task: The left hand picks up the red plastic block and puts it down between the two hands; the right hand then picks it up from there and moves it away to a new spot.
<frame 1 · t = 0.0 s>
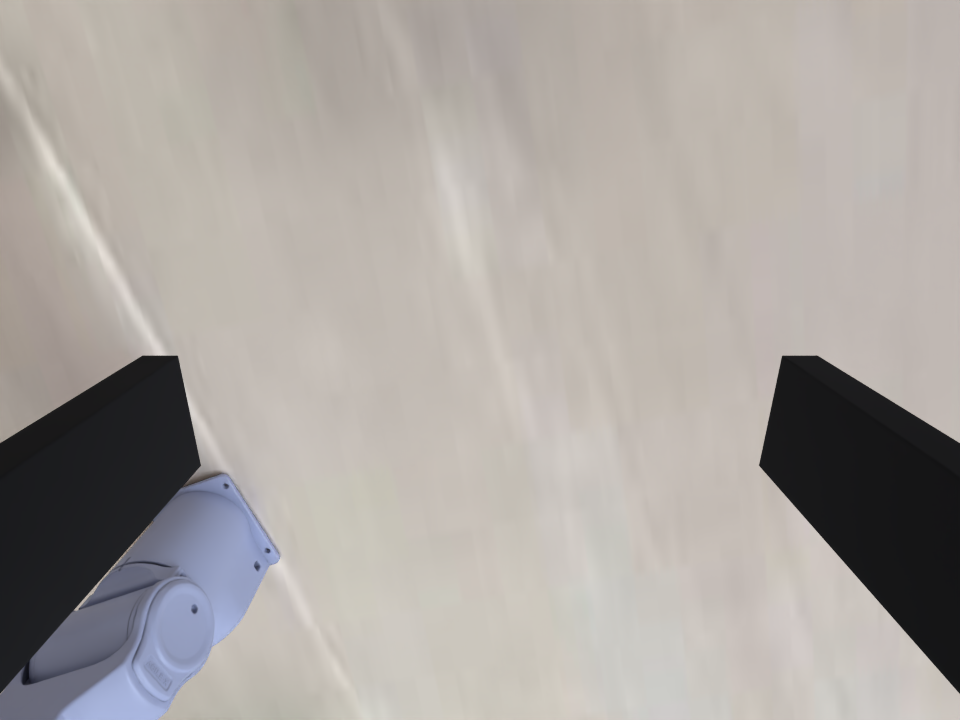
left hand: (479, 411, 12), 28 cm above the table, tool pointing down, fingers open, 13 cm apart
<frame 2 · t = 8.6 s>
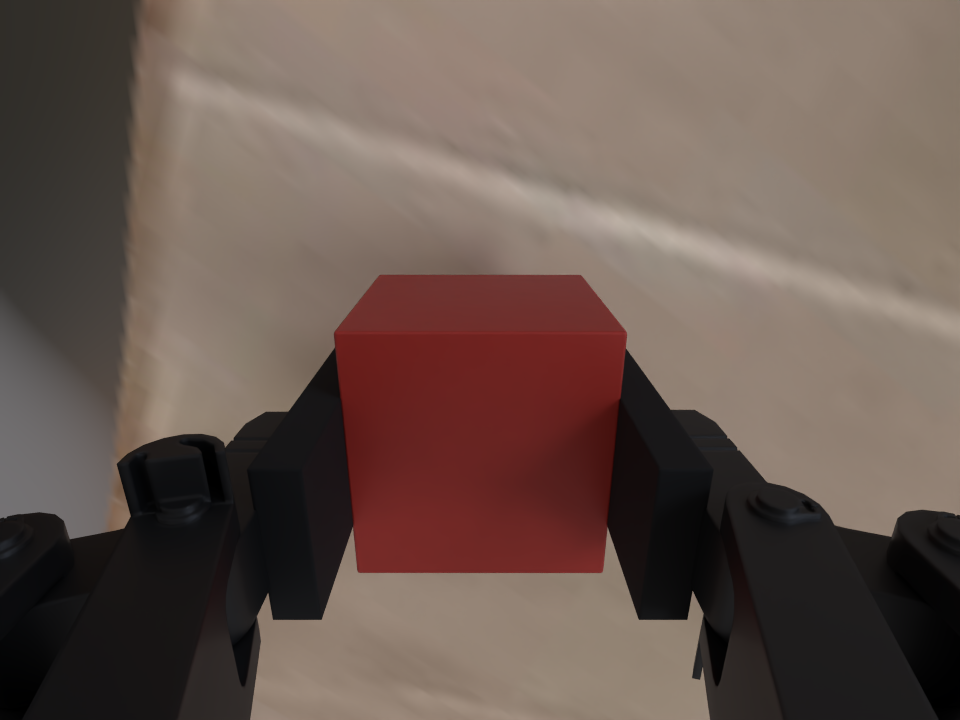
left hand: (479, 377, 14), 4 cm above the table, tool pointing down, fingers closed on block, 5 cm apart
block: (480, 371, 14), point 4 cm above the table, touching left hand
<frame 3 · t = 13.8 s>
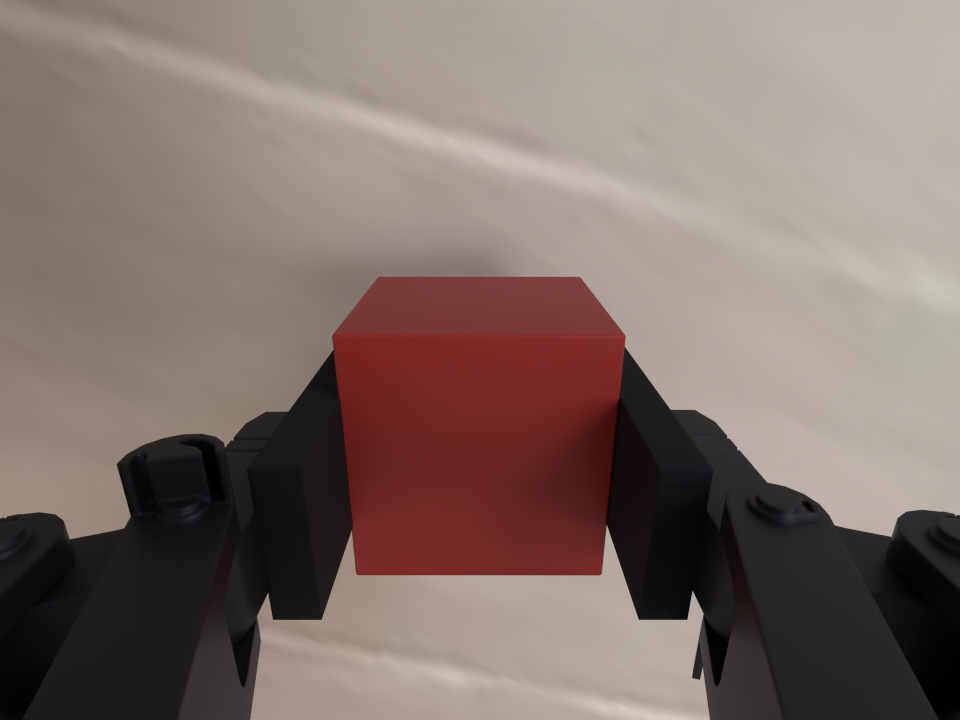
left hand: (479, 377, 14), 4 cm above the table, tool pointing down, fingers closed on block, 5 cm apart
block: (479, 373, 14), point 4 cm above the table, touching left hand
when the left hand's fingers open (0 cm above the table, at t = 19.1 s): block stays where it is, on the table.
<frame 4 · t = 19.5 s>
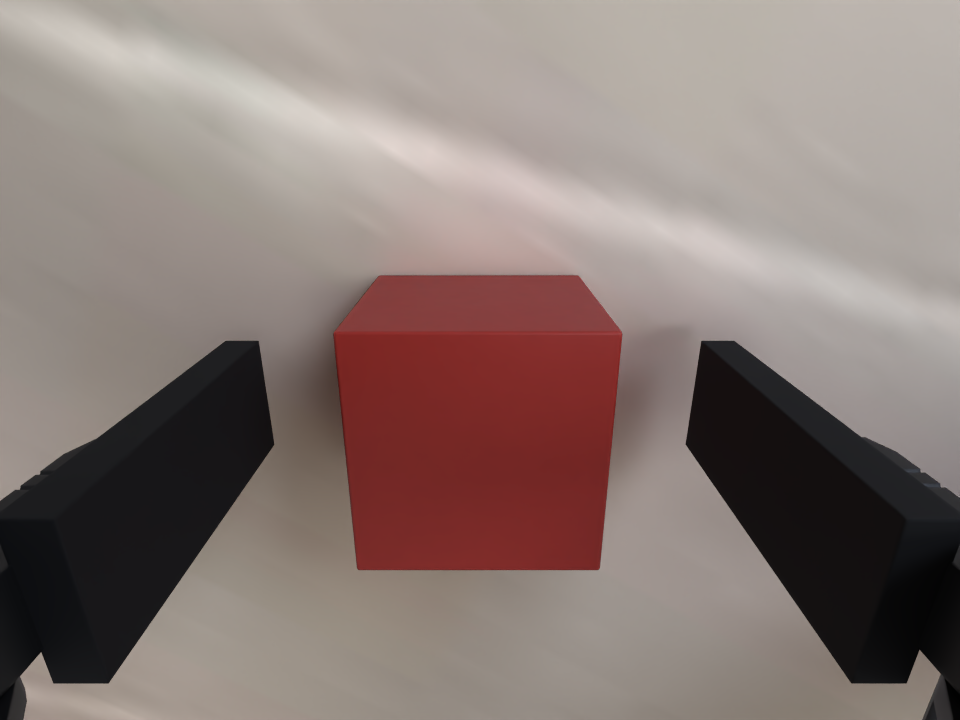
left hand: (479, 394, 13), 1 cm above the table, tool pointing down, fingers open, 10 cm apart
block: (478, 371, 15), on the table
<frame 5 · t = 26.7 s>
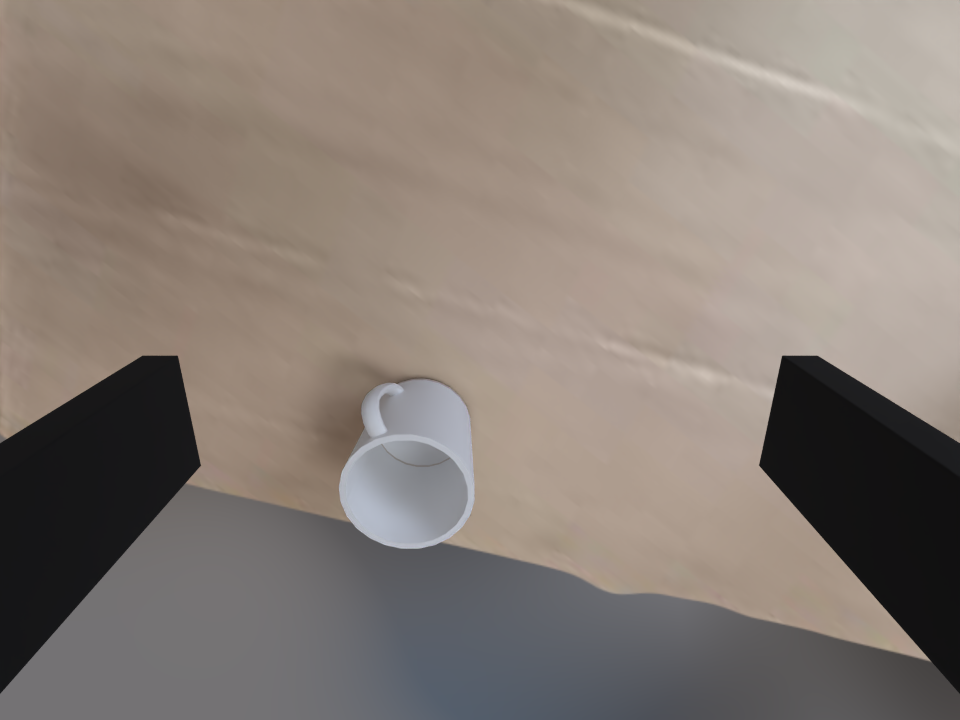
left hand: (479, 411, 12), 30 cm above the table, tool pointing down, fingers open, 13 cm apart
mug: (417, 410, 46), on the table
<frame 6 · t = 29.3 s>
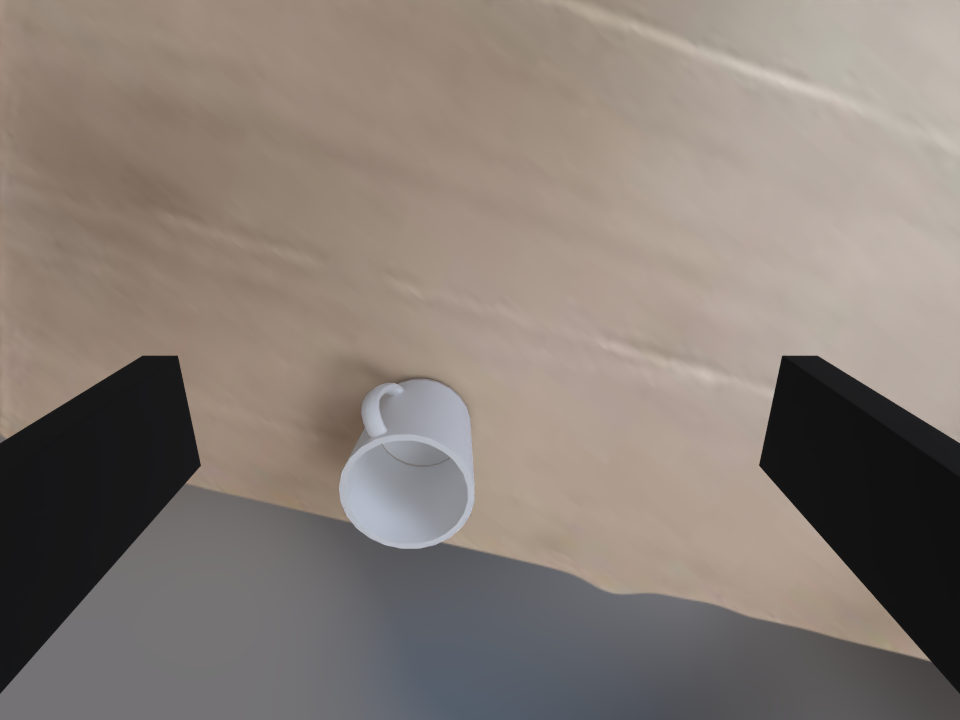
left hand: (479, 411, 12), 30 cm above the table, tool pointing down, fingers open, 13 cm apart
mug: (417, 410, 46), on the table
when the right hand's fingers open (2 cm above the table, at t = 31.7 s): block stays where it is, on the table.
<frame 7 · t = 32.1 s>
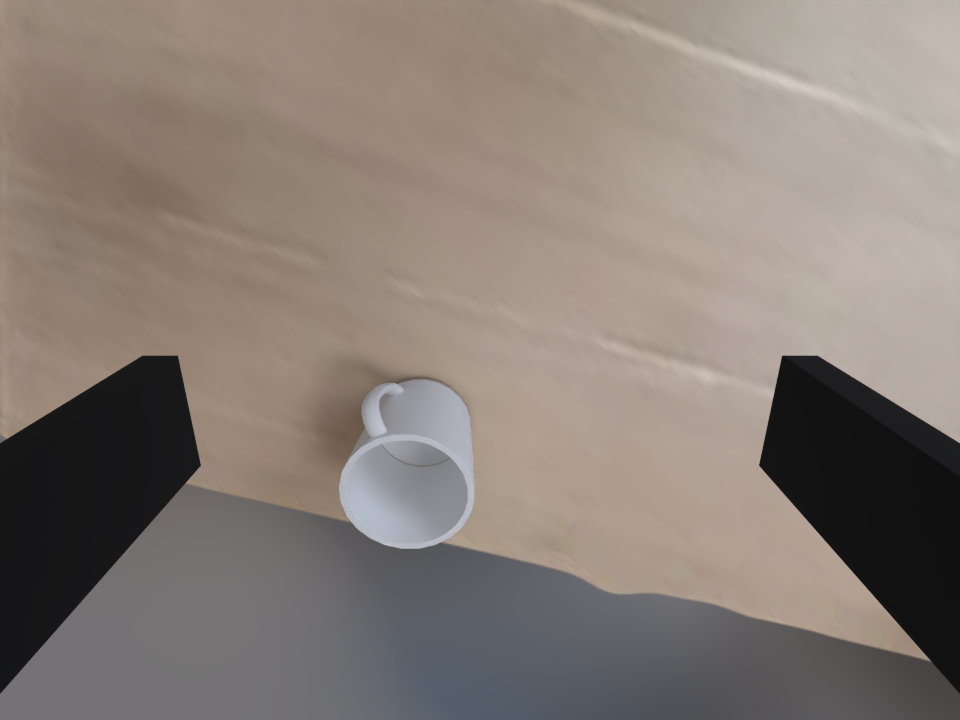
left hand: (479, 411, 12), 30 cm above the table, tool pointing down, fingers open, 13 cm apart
mug: (417, 410, 46), on the table
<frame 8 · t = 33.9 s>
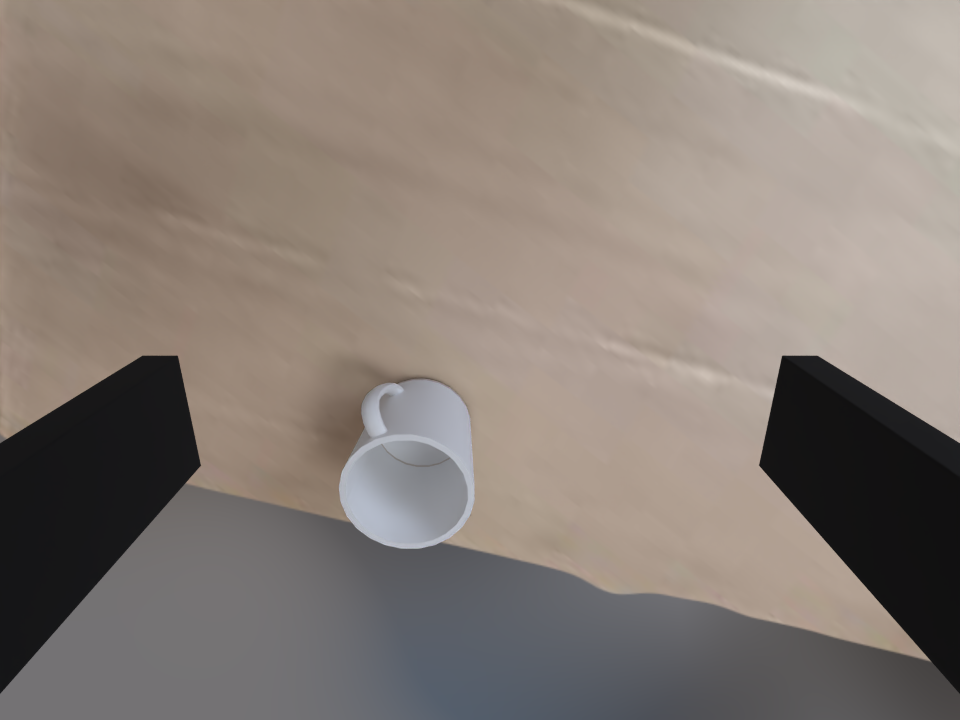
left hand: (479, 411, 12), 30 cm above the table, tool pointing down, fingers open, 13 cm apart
mug: (417, 410, 46), on the table
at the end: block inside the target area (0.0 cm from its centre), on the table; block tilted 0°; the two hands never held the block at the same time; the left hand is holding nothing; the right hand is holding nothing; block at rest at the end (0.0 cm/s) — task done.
